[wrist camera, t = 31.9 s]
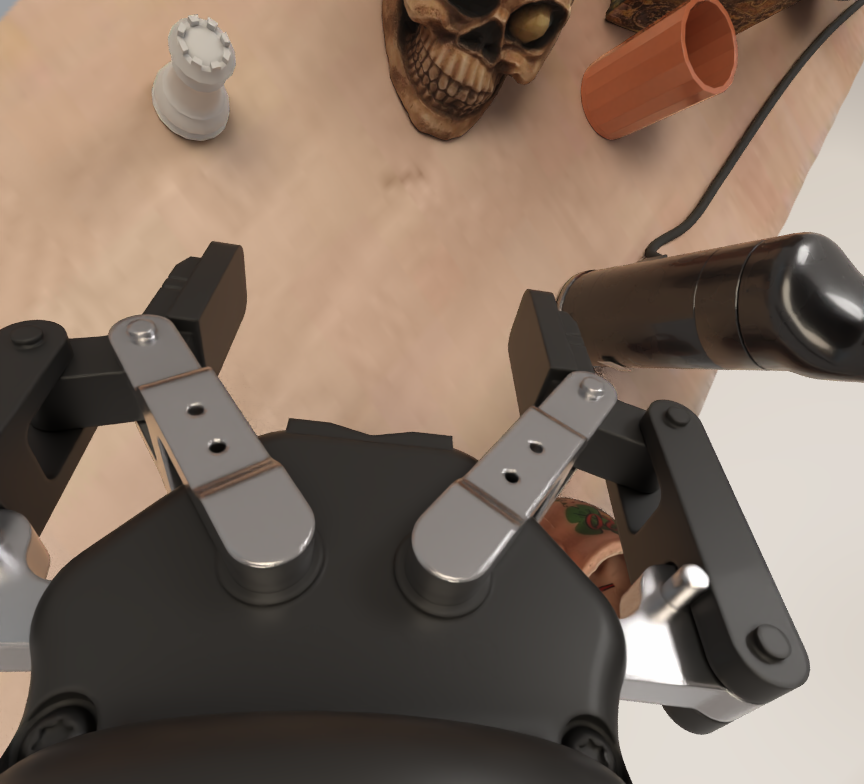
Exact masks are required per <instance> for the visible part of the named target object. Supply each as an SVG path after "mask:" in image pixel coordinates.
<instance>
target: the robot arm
mask: <svg viewBox="0 0 864 784" xmlns="http://www.w3.org/2000/svg"><path fill="white" fill-rule="evenodd" d="M863 5H864V0H858V1H856V2H855V3H854V4H853V5H852V6H850V7H849V8H848V9H847V10H846V11H845V12H844V13H842V14H841V15H840V16H839V17H838V18H837V19H836V20H835V21H834V22H833V23H832V24H831V25H830V26H829V27H828V28H827V29H826V30H825V31H824V32H823V33H822V34H821V35H820V36H819V37H818V38H817V39H816V40H815V41H814V42H813V43H812V45H811V46H810V47H809V48H808V49H807V50H806V51H805V53H804V54H803V55H802V56H801V57H800V59H799V60H798V61H797V62H796V63H795V65H794V66H793V67H792V69H791V70H790V71H789V72H788V74H787V75H786V76H785V78H784V79H783V80H782V82H781V83H780V84H779V86H778V87H777V88H776V90H775V91H774V93H773V94H772V96H771V97H770V98H769V100H768V101H767V103H766V104H765V105H764V107H763V108H762V110H761V111H760V113H759V114H758V116H757V117H756V119H755V120H754V122H753V123H752V125H751V126H750V128H749V129H748V131H747V132H746V134H745V135H744V137H743V138H742V140H741V141H740V143H739V144H738V146H737V147H736V149H735V150H734V152H733V153H732V155H731V156H730V158H729V159H728V161H727V162H726V164H725V165H724V167H723V168H722V170H721V171H720V173H719V174H718V175H717V177H716V178H715V180H714V181H713V183H712V184H711V186H710V187H709V189H708V191H707V192H706V194H705V195H704V197H703V198H702V200H701V201H700V203H699V204H698V206H697V207H696V208H695V210H694V211H693V212H692V213H691V215H690V216H689V217H688V218H687V219H686V220H685V221H684V222H683V223H682V224H680V225H679V226H677V227H676V228H674V229H672V230H671V231H669V232H667V233H665V234H663V235H661V236H660V237H658V238H657V239H655V240H654V241H652V242H651V243H650V245H649V246H648V248H647V250H646V257H647V258H646V259H643V260H641V261H639V262H637V263H633V264H628V265H623V266H616V267H611V268H606V269H600V270H589V271H584V272H581V273H578V274H576V275H575V276H573V277H572V278H571V279H570V280H569V281H568V282H567V283H566V284H565V286H564V287H563V289H562V290H561V293H560V295H559V297H558V300H557V304H556V301H555V298H554V295H553V293H551V292H544V291H538V290H531V289H527V290H526V291H525V293H524V295H523V297H522V300H521V303H520V306H519V309H518V312H517V315H516V318H515V321H514V323H513V326H512V329H511V332H510V337H509V343H508V352H509V358H510V363H511V369H512V374H513V379H514V385H515V390H516V396H517V401H518V406H519V412H520V418H519V419H518V420H517V421H516V422H515V423H514V424H513V425H512V426H511V427H510V428H509V429H508V430H507V432H506V433H505V434H504V435H503V436H502V437H501V438H500V439H499V440H498V441H497V442H496V443H495V444H494V445H493V446H492V447H491V448H490V450H489V451H488V452H487V453H486V454H485V455H484V456H483V457H482V458H481V459H480V460H479V461H478V460H476V459H475V458H473V457H472V456H470V455H468V454H466V453H464V452H462V451H459V450H457V449H454V448H453V441H452V436H446V435H437V434H428V433H419V432H406V433H395V434H384V435H368V434H365V433H362V432H358V431H355V430H352V429H349V428H346V427H343V426H339V425H336V424H333V423H329V422H320V421H311V420H302V419H293V418H289V421H288V425H287V428H286V430H283V431H276V432H271V433H267V434H264V435H260V436H258V437H257V435H256V434H255V432H254V431H253V429H252V428H251V426H250V425H249V423H248V422H247V420H246V419H245V417H244V416H243V414H242V413H241V411H240V410H239V408H238V407H237V405H236V404H235V402H234V400H233V399H232V397H231V396H230V394H229V393H228V391H227V390H226V388H225V387H224V385H223V384H222V382H221V381H220V379H219V378H218V375H219V372H220V370H221V368H222V365H223V363H224V361H225V359H226V356H227V354H228V352H229V349H230V347H231V345H232V343H233V340H234V338H235V336H236V333H237V331H238V329H239V326H240V324H241V322H242V320H243V317H244V314H245V310H246V304H247V290H246V277H245V265H244V253H243V248H242V246H241V245H235V244H228V243H221V242H215V241H212V242H211V243H210V245H209V246H208V248H207V249H206V251H205V253H204V254H203V256H202V257H201V258H198V257H189V258H187V259H185V260H184V261H182V262H180V263H179V264H177V265H176V266H175V267H174V269H173V270H172V272H171V273H170V274H169V276H168V278H167V279H166V280H165V282H164V283H163V285H162V288H160V289H159V291H158V292H157V293H156V295H155V296H154V298H153V299H152V301H151V302H150V304H149V305H148V307H147V308H146V310H145V311H144V313H143V314H142V315H135V316H131V317H127V318H125V319H122V320H120V321H119V322H117V323H116V324H114V325H113V326H112V327H111V329H110V330H109V333H108V335H107V336H100V337H87V338H73V339H69V338H68V336H67V333H66V331H65V329H64V328H63V327H62V326H61V325H59V324H57V323H55V322H51V321H45V320H29V321H23V322H18V323H15V324H11V325H9V326H7V327H5V328H3V329H1V330H0V672H22V671H31V680H30V687H29V694H28V698H27V702H26V707H25V711H24V714H23V717H22V720H21V723H20V725H19V727H18V730H17V732H16V734H15V736H14V738H13V739H12V741H11V743H10V744H9V746H8V747H7V749H6V751H5V752H4V754H3V755H2V757H1V758H0V784H632V781H631V779H630V777H629V774H628V772H627V770H626V766H625V764H624V761H623V758H622V755H621V751H620V746H619V740H618V705H619V700H626V701H634V702H643V703H651V704H660V705H662V706H663V708H664V710H665V711H666V713H667V714H668V715H669V716H670V717H671V719H672V720H673V721H674V722H675V723H677V724H678V725H679V726H680V727H682V728H683V729H685V730H687V731H689V732H692V733H695V734H701V735H702V734H708V733H711V732H713V731H715V730H717V729H719V728H721V727H723V726H725V725H727V724H728V723H730V722H732V721H734V720H736V719H738V718H740V717H742V716H744V715H746V714H748V713H749V712H751V711H754V710H755V709H757V708H759V707H761V706H763V705H765V704H767V703H769V702H771V701H773V700H774V699H777V698H778V697H780V696H782V695H784V694H786V693H788V692H790V691H792V690H794V689H796V688H797V687H800V686H801V685H803V684H804V683H805V682H806V680H807V679H808V676H809V672H810V663H809V659H808V655H807V652H806V650H805V648H804V646H803V643H802V641H801V639H800V637H799V634H798V632H797V630H796V628H795V626H794V624H793V621H792V619H791V617H790V615H789V613H788V610H787V608H786V606H785V604H784V602H783V599H782V597H781V595H780V593H779V591H778V589H777V586H776V584H775V582H774V580H773V578H772V575H771V573H770V571H769V569H768V567H767V565H766V562H765V560H764V558H763V556H762V554H761V551H760V549H759V547H758V545H757V543H756V540H755V538H754V536H753V534H752V532H751V530H750V527H749V525H748V523H747V521H746V519H745V516H744V514H743V512H742V510H741V508H740V506H739V504H738V501H737V499H736V497H735V495H734V493H733V490H732V488H731V486H730V484H729V481H728V479H727V477H726V475H725V473H724V471H723V469H722V466H721V464H720V462H719V460H718V457H717V455H716V453H715V451H714V449H713V447H712V445H711V442H710V440H709V438H708V436H707V433H706V431H705V429H704V427H703V425H702V423H701V421H700V419H699V418H698V417H697V416H696V415H695V414H694V413H693V412H692V411H691V410H690V409H688V408H687V407H685V406H683V405H681V404H679V403H677V402H674V401H670V400H656V401H654V402H653V403H651V405H650V406H649V408H648V409H647V411H646V410H643V409H641V408H638V407H635V406H632V405H629V404H627V403H624V402H622V401H620V400H618V399H617V398H618V397H617V392H616V390H615V388H614V387H613V386H612V384H611V383H609V382H608V381H607V380H606V379H604V378H603V377H601V376H599V375H597V374H595V371H594V369H593V367H601V366H605V367H612V368H614V369H617V370H619V371H632V370H629V369H627V368H624V367H634V368H675V369H717V370H766V371H770V370H773V371H790V372H793V373H796V374H799V375H802V376H805V377H809V378H814V379H821V380H831V381H847V382H862V383H864V276H863V275H862V274H861V273H860V272H859V271H858V270H857V269H856V268H855V266H854V265H853V264H852V263H851V261H850V260H849V259H848V258H847V256H846V255H845V254H844V252H843V251H842V250H841V248H840V247H838V245H837V244H836V243H834V242H833V241H832V240H831V239H829V238H827V237H826V236H824V235H821V234H818V233H812V232H802V233H793V234H789V235H784V236H778V237H772V238H767V239H762V240H756V241H751V242H745V243H740V244H735V245H729V246H725V247H720V248H714V249H709V250H704V251H698V252H693V253H687V254H682V255H677V256H671V257H667V255H662V254H659V253H657V252H656V251H657V250H658V249H659V248H660V247H661V246H662V245H664V244H666V243H667V242H669V241H671V240H673V239H675V238H677V237H678V236H680V235H682V234H683V233H685V232H686V231H687V230H689V229H690V228H691V227H692V226H693V225H694V224H695V223H696V221H697V220H698V219H699V218H700V217H701V215H702V214H703V213H704V211H705V210H706V208H707V207H708V205H709V204H710V202H711V201H712V199H713V197H714V196H715V194H716V193H717V191H718V189H719V188H720V186H721V185H722V183H723V182H724V180H725V179H726V178H727V176H728V175H729V173H730V172H731V170H732V168H733V167H734V165H735V164H736V162H737V161H738V159H739V158H740V156H741V155H742V153H743V152H744V150H745V149H746V147H747V146H748V144H749V143H750V141H751V140H752V138H753V137H754V135H755V134H756V132H757V131H758V129H759V127H760V126H761V124H762V123H763V121H764V120H765V118H766V117H767V115H768V114H769V113H770V111H771V110H772V108H773V107H774V105H775V104H776V102H777V101H778V100H779V98H780V97H781V95H782V94H783V92H784V91H785V90H786V88H787V87H788V86H789V84H790V83H791V81H792V80H793V79H794V78H795V76H796V75H797V74H798V72H799V71H800V70H801V69H802V67H803V66H804V65H805V63H806V62H807V61H808V60H809V59H810V57H811V56H812V55H813V54H814V53H815V52H816V50H817V49H818V48H819V47H820V46H821V45H822V44H823V43H824V42H825V40H826V39H827V38H828V37H829V36H830V35H831V34H832V33H833V32H834V31H835V30H836V29H837V28H838V27H839V26H840V25H841V24H842V23H843V22H845V21H846V20H847V19H848V18H849V17H850V16H851V15H852V14H853V13H854V12H856V11H857V10H858V9H859V8H860V7H861V6H863ZM134 421H135V424H136V426H137V428H138V430H139V432H140V434H141V436H142V438H143V441H144V443H145V445H146V447H147V449H148V451H149V453H150V455H151V457H152V459H153V461H154V463H155V465H156V467H157V469H158V471H159V473H160V476H161V478H162V480H163V483H164V486H165V489H166V491H167V495H165V496H164V497H162V498H161V499H159V500H158V501H156V502H155V503H153V504H152V505H150V506H149V507H148V508H146V509H145V510H143V511H142V512H140V513H139V514H137V515H136V516H134V517H133V518H131V519H130V520H128V521H127V522H125V523H124V524H123V525H121V526H120V527H118V528H117V529H115V530H114V531H112V532H111V533H109V534H108V535H106V536H105V537H103V538H102V539H100V540H99V541H98V542H96V543H95V544H93V545H92V546H90V547H89V548H87V549H86V550H84V551H83V552H81V553H80V554H79V555H77V556H76V557H75V558H73V559H72V560H71V561H70V562H69V563H68V564H67V565H65V566H64V567H63V568H62V569H61V570H60V571H59V573H58V574H57V575H56V576H55V577H54V578H53V580H52V581H51V580H47V579H46V577H47V574H48V570H49V567H50V555H49V553H48V551H47V549H46V548H45V546H44V545H43V543H42V541H41V540H40V538H39V537H40V535H41V533H42V531H43V529H44V527H45V525H46V523H47V522H48V520H49V518H50V516H51V514H52V512H53V510H54V508H55V506H56V505H57V503H58V501H59V499H60V497H61V495H62V493H63V491H64V489H65V487H66V486H67V484H68V482H69V480H70V478H71V476H72V474H73V472H74V470H75V469H76V467H77V465H78V463H79V461H80V459H81V457H82V455H83V453H84V452H85V450H86V448H87V446H88V444H89V442H90V440H91V438H92V436H93V434H94V433H95V431H96V429H97V427H98V426H103V425H111V424H118V423H126V422H134ZM577 469H580V470H582V471H585V472H588V473H590V474H593V475H595V476H598V477H601V478H603V479H606V484H607V489H608V493H609V497H610V501H611V505H612V509H613V513H614V517H615V522H616V526H617V530H618V534H619V538H620V542H621V546H622V550H623V555H624V559H625V563H626V567H627V571H628V575H629V579H630V583H631V587H630V588H629V589H628V590H627V591H626V592H625V593H624V594H623V596H622V597H621V600H620V605H619V609H620V619H619V618H618V616H617V614H616V612H615V610H614V608H613V607H612V605H611V604H610V602H609V601H608V599H607V598H606V597H605V595H604V594H603V593H602V592H601V591H600V589H599V588H598V587H597V586H596V585H595V584H594V583H593V582H592V581H591V580H590V579H589V577H588V576H587V575H586V574H585V573H584V572H583V571H582V570H581V569H580V568H579V567H578V565H577V564H576V563H575V562H574V561H573V560H572V559H571V558H570V557H569V556H568V555H567V553H566V552H565V551H564V550H563V549H562V548H561V547H560V546H559V545H558V544H557V543H556V541H555V540H554V539H553V538H552V537H551V536H550V535H549V534H548V533H547V532H546V531H545V529H544V528H543V527H542V526H541V525H540V522H541V521H542V519H543V517H544V516H545V514H546V513H547V511H548V510H549V508H550V507H551V505H552V504H553V503H554V501H555V500H556V498H557V497H558V496H559V494H560V493H561V491H562V490H563V489H564V487H565V486H566V484H567V483H568V481H569V480H570V479H571V477H572V476H573V474H574V473H575V472H576V470H577Z"/></svg>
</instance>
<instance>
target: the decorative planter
mask: <svg viewBox="0 0 864 784" xmlns="http://www.w3.org/2000/svg"><path fill="white" fill-rule="evenodd" d="M540 525H541V526H542V527H543V528H544V529H545V531H546V532H547V533H548V534H549V535H550V536H551V537H552V538H553V539H554V540H555V541H556V543H557V544H558V545H559V546H560V547H561V548H562V549H563V550H564V551H565V552H566V553H567V555H568V556H569V557H570V558H571V559H572V560H573V561H574V562H575V563H576V564H577V565H578V567H579V568H580V569H581V570H582V571H583V572H584V573H585V574H586V575H587V576H588V577H589V579H590V580H591V581H592V582H593V583H594V584H595V585H596V586H597V587H598V588H599V589H600V591H601V592H602V593H603V594H604V595H605V597H606V598H607V599H608V601H609V602H610V604H611V605H612V607H613V608H614V610H615V612H616V614H617V616H618V618H619V619H620V609H619V605H620V600H621V597H622V596H623V594H624V593H625V592H626V591H627V590H628V589H629V588H630V587H631V583H630V579H629V575H628V571H627V567H626V563H625V559H624V555H623V550H622V546H621V542H620V538H619V534H618V530H617V526H616V522H615V520H614V519H613V518H612V517H611V516H609V515H608V514H607V513H605V512H604V511H602V510H601V509H599V508H597V507H595V506H593V505H591V504H589V503H586V502H583V501H579V500H575V499H571V498H556V500H555V501H554V503H553V504H552V505H551V507H550V508H549V510H548V511H547V513H546V514H545V516H544V517H543V519H542V521H541V522H540Z"/></svg>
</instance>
